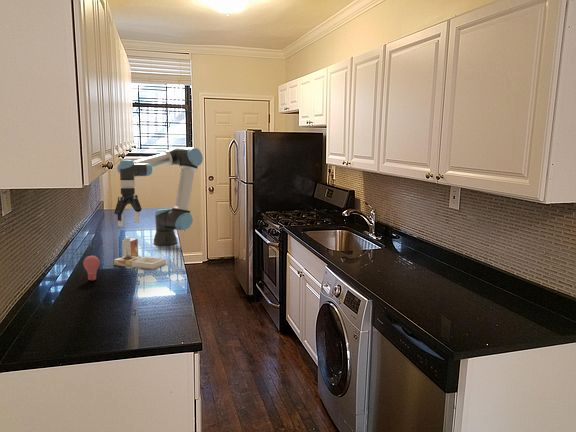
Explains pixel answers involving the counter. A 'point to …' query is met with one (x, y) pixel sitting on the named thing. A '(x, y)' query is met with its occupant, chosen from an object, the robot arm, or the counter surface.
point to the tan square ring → (125, 261)
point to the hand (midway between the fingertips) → (129, 224)
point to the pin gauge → (127, 248)
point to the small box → (132, 247)
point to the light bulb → (91, 266)
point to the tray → (149, 263)
